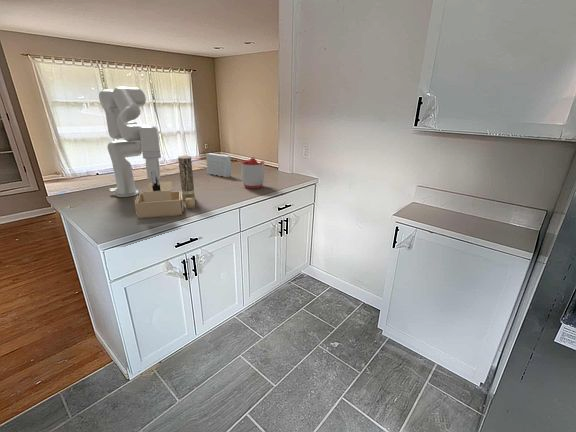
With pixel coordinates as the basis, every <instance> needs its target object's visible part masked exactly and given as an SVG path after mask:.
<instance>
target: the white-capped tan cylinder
mask: <svg viewBox="0 0 576 432" xmlns="http://www.w3.org/2000/svg"><path fill="white" fill-rule="evenodd" d="M195 201H196V200H195V199H194V198H192V197H190V198H186V199H185V200H184V202H185V209H188V210H189V209H190V210H191V209H194V208H196V202H195Z"/></svg>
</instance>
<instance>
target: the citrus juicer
mask: <svg viewBox="0 0 576 432" xmlns="http://www.w3.org/2000/svg"><path fill="white" fill-rule="evenodd" d="M240 163H241V164H240V165H241V179H242V184H243V186H244V188H246V189H253V190H257V189H260V188H262V186H263V185H264V180H265V161H264V160H262V161H260V163H259V162H258V161H257V160H256V158H255V157H251V158H250V159H246V160H242V161H241V162H240Z"/></svg>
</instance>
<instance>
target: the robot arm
mask: <svg viewBox="0 0 576 432" xmlns="http://www.w3.org/2000/svg"><path fill="white" fill-rule="evenodd" d="M98 98H99V102H100V104H101V106H102V108H103V111H104V113H105V118H106V124H107V125H106V126H107V132H108V135H109V137H110V138H111V139H114V141H109V143H107V151H108V154H109V157H110V159H111V164H112V169H113V173H114V178H115V184H116V185H115V186H116V187H115V188H111V187H110V188H109V192H110V193H114V194H115V195H114V196H115V197H118V198H128V197H129V198H130V197H134V196H136V195H137V196H138V195H140V192H139V190H137V189H136V185H135V179H134V173H133V166H132V164H131V162H130V161H129V160H127V159H126V158H133V157H139V156H141V155H142V159H143V160H145V167H146V177H147V181H150V180H151V181H150V182H152V187H153V191H161V189H160V185H159V182H160V179H161V178H160V177H161V168H160V159H161V158H162V154H161V153H162V152H161V147H160V140H159V133H158V132H159V131H158V128H157V127H156V126H154V125H152V124H146V123H144V124H139V123H137V122H136V121H134V120H136V119H138V118H139V116H140V115H141V109H140V107H143V106H145V105H146V100H147V98H146V94H145V92H144V90H142V89H141V88H139V87H133V86H131V87H130V86H117V87H115V88H113V89H103V90H101V91H99V93H98Z"/></svg>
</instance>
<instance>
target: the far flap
mask: <svg viewBox="0 0 576 432" xmlns="http://www.w3.org/2000/svg"><path fill="white" fill-rule="evenodd" d="M159 185H160V189H161V190H170V192H173V182H172V181H171V180H170V181H159ZM147 187H148V188H147V191H153V187H152V181H150V182H147Z"/></svg>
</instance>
